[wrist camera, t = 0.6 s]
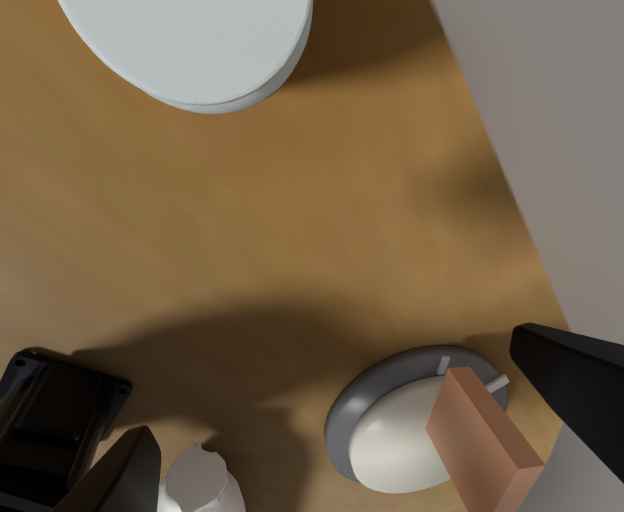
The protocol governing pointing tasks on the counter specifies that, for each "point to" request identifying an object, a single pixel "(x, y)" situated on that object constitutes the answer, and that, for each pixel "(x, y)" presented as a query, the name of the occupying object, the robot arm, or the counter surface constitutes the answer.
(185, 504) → the white bottle
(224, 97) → the pill bottle
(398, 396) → the dial
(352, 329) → the counter surface
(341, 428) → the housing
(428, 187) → the counter surface
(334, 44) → the counter surface
